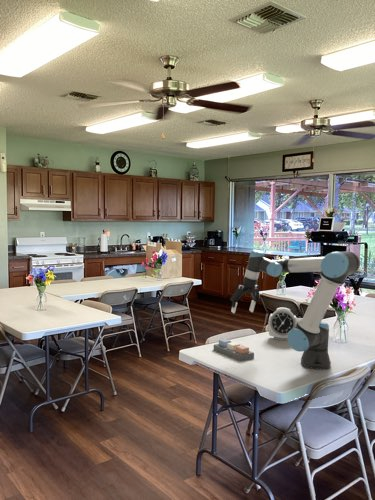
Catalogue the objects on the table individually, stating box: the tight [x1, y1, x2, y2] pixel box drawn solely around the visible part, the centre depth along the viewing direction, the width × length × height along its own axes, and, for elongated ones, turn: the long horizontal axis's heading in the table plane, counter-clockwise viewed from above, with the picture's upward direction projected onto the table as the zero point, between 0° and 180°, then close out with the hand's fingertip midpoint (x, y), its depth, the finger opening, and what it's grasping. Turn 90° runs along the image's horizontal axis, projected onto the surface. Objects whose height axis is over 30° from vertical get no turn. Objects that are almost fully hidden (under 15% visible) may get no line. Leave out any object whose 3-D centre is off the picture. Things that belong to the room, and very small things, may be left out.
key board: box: [213, 343, 255, 362], centre depth 242 cm, size 23×10×3 cm, turn 35°
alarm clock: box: [267, 306, 298, 341], centre depth 275 cm, size 18×8×20 cm, turn 76°
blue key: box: [218, 338, 232, 347], centre depth 248 cm, size 5×5×3 cm
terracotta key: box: [236, 344, 250, 354], centre depth 235 cm, size 5×5×3 cm
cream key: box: [227, 341, 241, 351], centre depth 242 cm, size 5×5×3 cm
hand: (242, 312), depth 245 cm, fingers open, 13 cm apart
